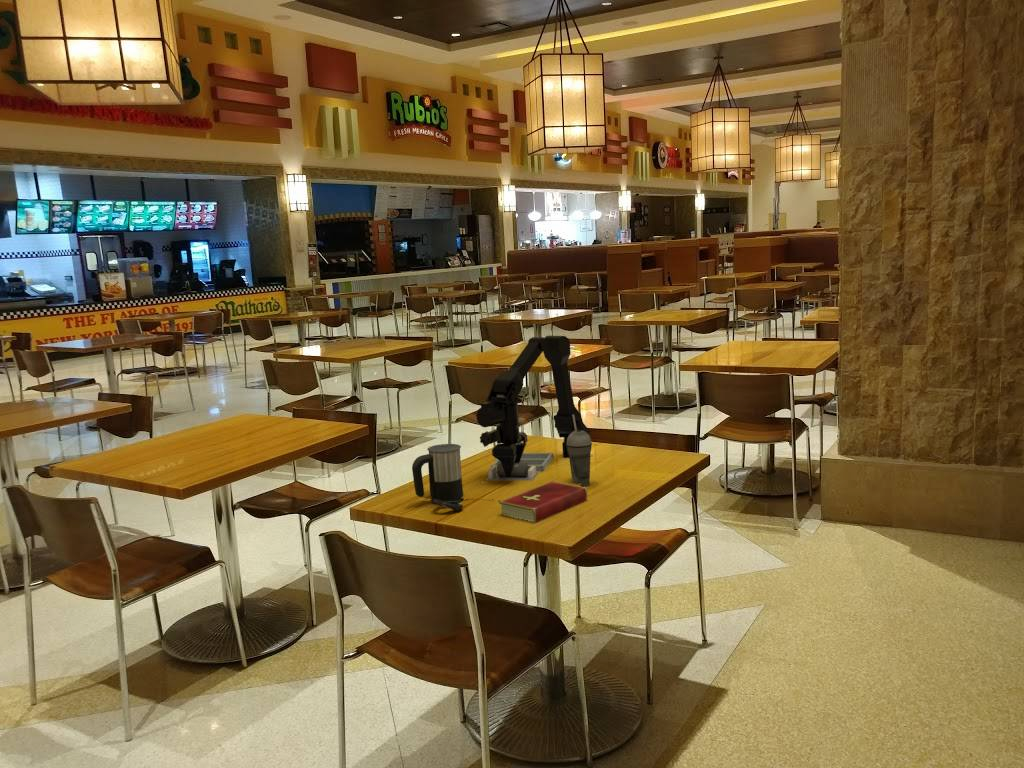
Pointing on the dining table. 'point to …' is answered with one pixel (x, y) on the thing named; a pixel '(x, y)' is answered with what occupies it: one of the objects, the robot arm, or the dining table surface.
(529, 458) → the cell tray
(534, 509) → the hardcover book
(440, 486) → the milk frother
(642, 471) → the dining table surface
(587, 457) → the beverage cup
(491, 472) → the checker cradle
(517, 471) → the battery cell
